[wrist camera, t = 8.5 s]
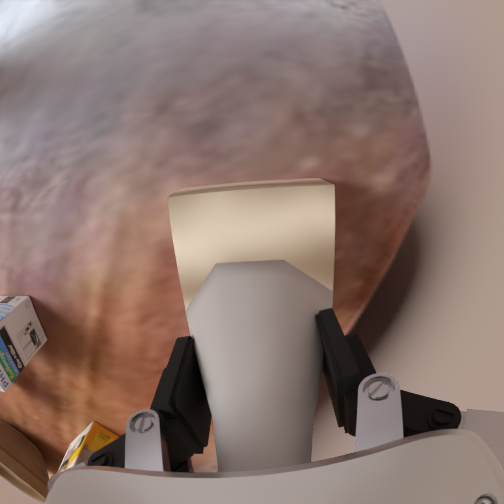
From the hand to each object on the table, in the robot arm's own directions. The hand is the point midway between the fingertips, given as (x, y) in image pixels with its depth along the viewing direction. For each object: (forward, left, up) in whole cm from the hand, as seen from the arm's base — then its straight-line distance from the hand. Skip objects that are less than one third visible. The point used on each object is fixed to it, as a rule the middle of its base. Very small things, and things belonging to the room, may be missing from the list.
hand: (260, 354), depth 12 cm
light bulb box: (+2, -33, -14) cm, 36 cm away
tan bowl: (+36, -70, -14) cm, 80 cm away
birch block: (0, 0, -14) cm, 14 cm away
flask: (0, 0, -2) cm, 2 cm away
